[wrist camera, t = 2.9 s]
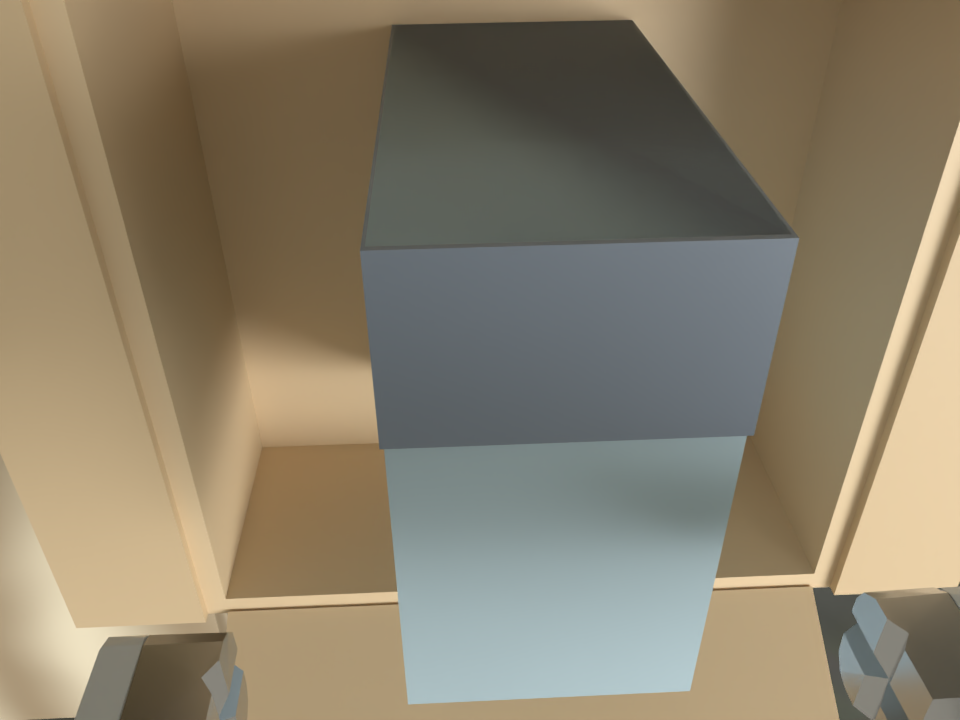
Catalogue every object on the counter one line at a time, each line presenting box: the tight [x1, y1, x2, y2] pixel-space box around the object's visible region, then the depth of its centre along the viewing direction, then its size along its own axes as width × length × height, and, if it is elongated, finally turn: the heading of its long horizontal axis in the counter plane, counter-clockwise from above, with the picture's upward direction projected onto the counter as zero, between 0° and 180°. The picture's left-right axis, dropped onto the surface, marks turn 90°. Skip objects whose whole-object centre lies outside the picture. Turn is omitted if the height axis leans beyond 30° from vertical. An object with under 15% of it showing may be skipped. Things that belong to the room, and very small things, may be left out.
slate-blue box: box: [360, 20, 799, 704], centre depth 17 cm, size 5×9×10 cm, turn 0°
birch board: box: [0, 454, 227, 720], centre depth 27 cm, size 13×13×1 cm
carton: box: [0, 0, 960, 720], centre depth 17 cm, size 21×19×10 cm
